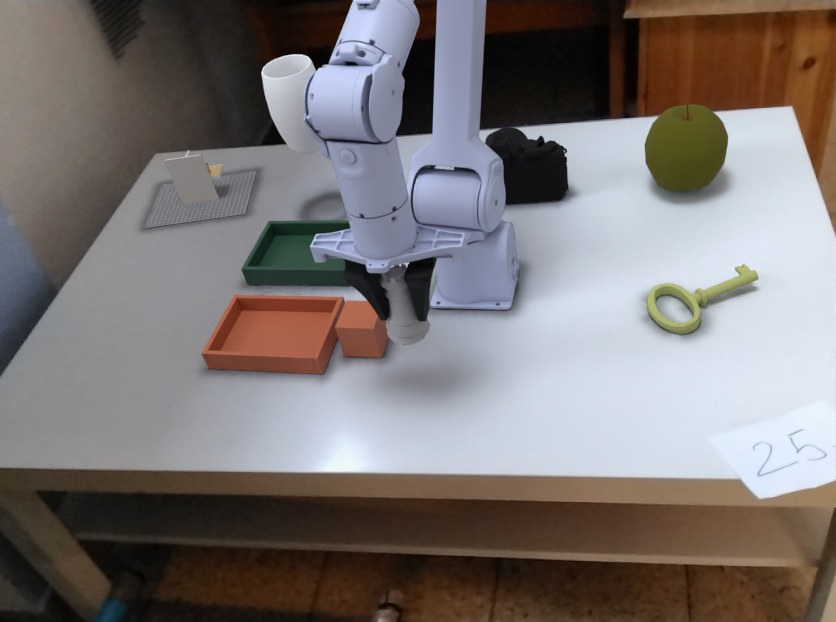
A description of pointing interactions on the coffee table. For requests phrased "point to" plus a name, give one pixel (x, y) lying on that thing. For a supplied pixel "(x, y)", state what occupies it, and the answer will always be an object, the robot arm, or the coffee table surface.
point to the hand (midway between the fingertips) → (404, 314)
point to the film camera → (529, 167)
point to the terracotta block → (361, 330)
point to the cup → (289, 99)
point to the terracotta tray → (275, 334)
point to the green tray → (293, 255)
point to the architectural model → (199, 193)
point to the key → (695, 298)
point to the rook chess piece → (402, 309)
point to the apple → (686, 148)
